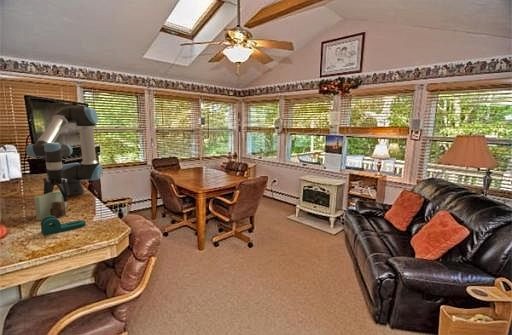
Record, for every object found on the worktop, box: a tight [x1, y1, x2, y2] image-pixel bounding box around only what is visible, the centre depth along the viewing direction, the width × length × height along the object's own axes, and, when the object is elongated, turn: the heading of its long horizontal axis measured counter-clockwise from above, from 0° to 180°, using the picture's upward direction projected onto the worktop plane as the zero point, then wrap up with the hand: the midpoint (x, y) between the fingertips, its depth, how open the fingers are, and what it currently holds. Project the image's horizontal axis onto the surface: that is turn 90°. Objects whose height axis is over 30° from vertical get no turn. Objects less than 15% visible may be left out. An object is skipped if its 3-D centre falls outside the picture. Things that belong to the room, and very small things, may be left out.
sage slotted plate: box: [33, 190, 62, 221], centre depth 152 cm, size 16×3×13 cm, turn 173°
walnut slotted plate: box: [50, 202, 67, 218], centre depth 153 cm, size 16×2×8 cm, turn 83°
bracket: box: [40, 215, 86, 237], centre depth 134 cm, size 18×7×8 cm, turn 137°
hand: (58, 206), depth 158 cm, fingers open, 8 cm apart
